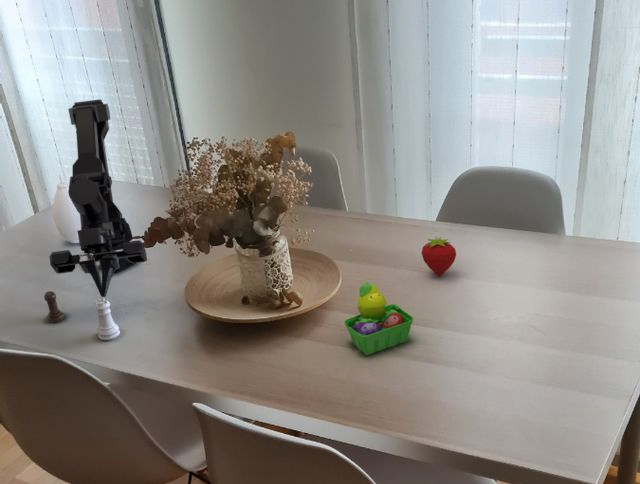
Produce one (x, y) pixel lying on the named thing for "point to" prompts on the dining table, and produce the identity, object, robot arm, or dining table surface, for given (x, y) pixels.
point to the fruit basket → (377, 322)
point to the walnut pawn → (53, 308)
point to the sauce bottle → (66, 214)
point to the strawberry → (439, 255)
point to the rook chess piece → (105, 321)
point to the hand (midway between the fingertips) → (103, 296)
